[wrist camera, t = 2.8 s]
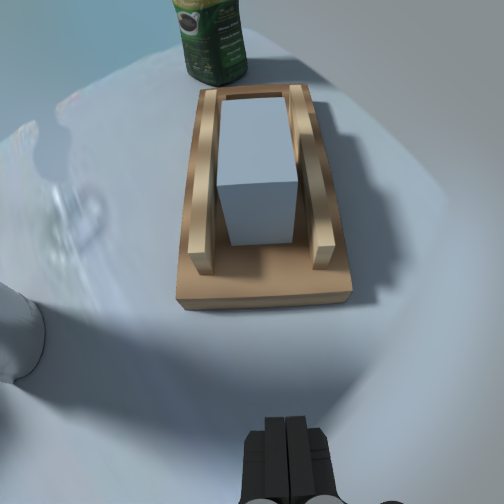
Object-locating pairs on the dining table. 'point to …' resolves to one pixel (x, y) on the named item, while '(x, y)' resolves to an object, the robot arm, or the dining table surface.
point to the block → (257, 171)
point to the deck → (265, 255)
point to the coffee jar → (212, 40)
